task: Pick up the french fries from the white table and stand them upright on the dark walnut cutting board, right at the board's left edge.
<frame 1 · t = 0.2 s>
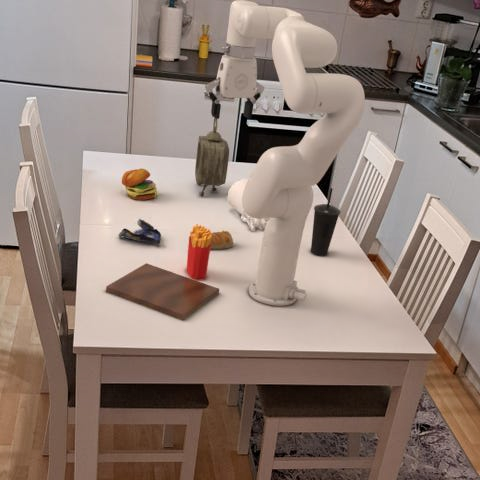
hand: (231, 117, 215), 37 cm above the table, tool pointing down, fingers open, 9 cm apart
pastry: (217, 246, 232), on the table
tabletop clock: (208, 192, 271), on the table
rocket engine: (245, 220, 252), on the table
cutting board: (163, 292, 201), on the table
snack package: (141, 240, 228), on the table
french fries: (196, 275, 213), on the table
cheeseburger: (138, 196, 259), on the table
drinking cup: (318, 253, 237), on the table
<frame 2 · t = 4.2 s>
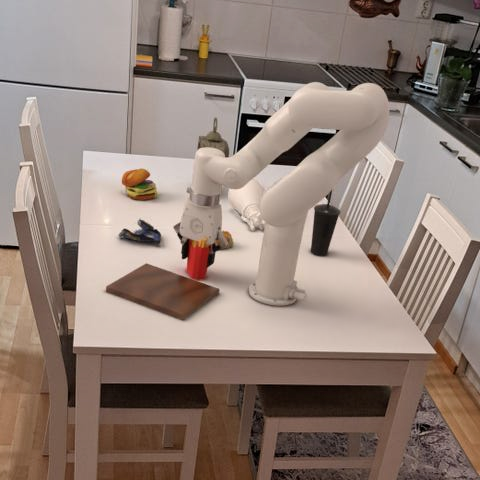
hand: (197, 261, 211), 4 cm above the table, tool pointing down, fingers closed on french fries, 6 cm apart
french fries: (196, 275, 213), on the table, touching gripper
everything else where it was.
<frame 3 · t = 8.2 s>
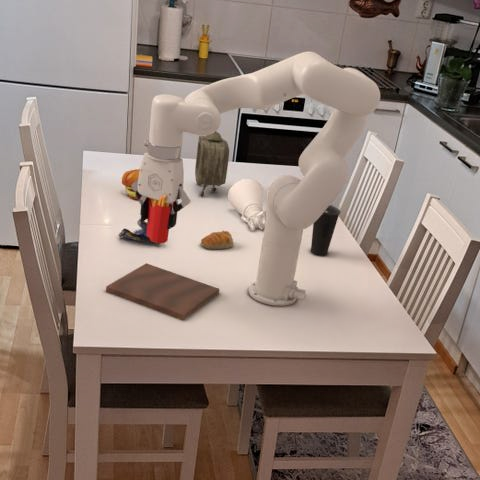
hand: (157, 222, 192), 19 cm above the table, tool pointing down, fingers closed on french fries, 6 cm apart
french fries: (157, 238, 194), point 15 cm above the table, touching gripper
everything else where it was.
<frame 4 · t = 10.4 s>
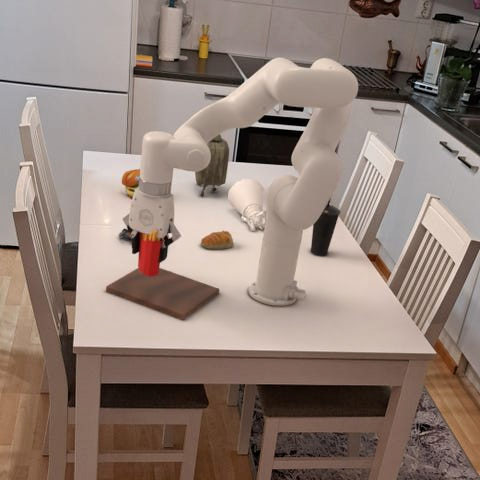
hand: (148, 256, 194), 10 cm above the table, tool pointing down, fingers closed on french fries, 6 cm apart
french fries: (148, 271, 196), point 6 cm above the table, touching gripper
everything else where it was.
when the fingers open (5 cm above the table, at t = 12.3 s): french fries stays where it is, resting on cutting board.
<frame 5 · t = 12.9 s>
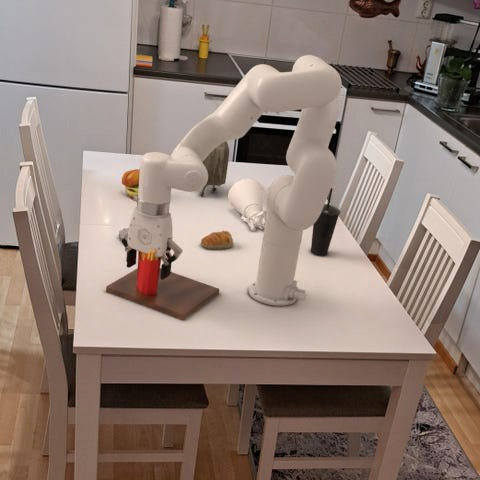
hand: (147, 271, 196), 6 cm above the table, tool pointing down, fingers open, 9 cm apart
french fries: (147, 289, 198), point 1 cm above the table, touching cutting board
everything else where it was.
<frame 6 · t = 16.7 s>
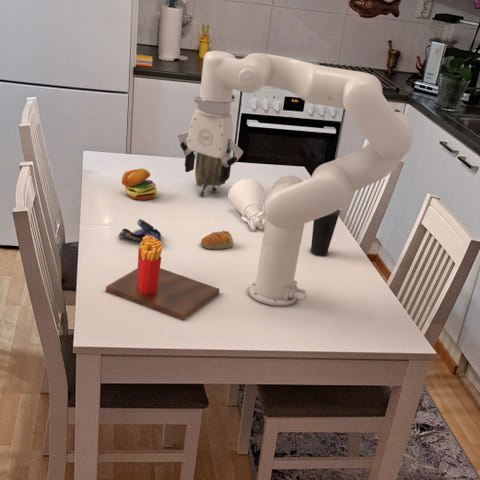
hand: (206, 175, 197), 28 cm above the table, tool pointing down, fingers open, 9 cm apart
nothing on the table moved.
at the end: french fries inside the target area on the cutting board (2.8 cm from its centre), point 1.3 cm above the cutting board's base; french fries tilted 0°; the gripper is holding nothing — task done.
